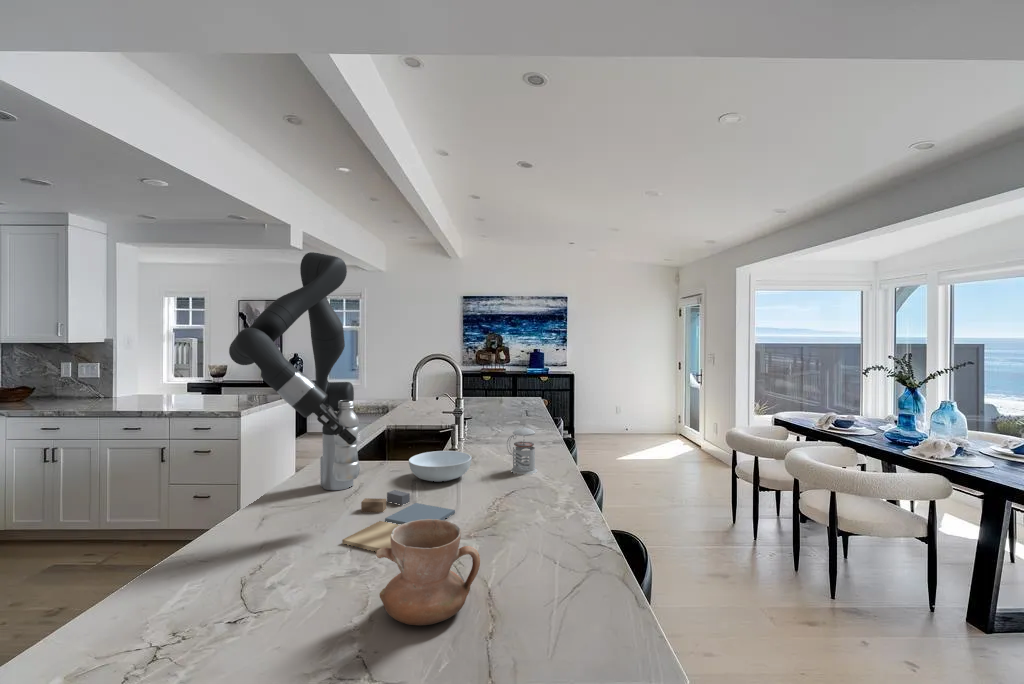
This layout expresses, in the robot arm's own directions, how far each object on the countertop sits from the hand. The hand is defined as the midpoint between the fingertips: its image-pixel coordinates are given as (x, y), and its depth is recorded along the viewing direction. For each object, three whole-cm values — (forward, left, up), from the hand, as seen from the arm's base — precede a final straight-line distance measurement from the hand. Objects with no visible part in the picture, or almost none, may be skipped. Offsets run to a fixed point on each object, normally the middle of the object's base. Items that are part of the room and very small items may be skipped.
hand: (353, 438), depth 127 cm
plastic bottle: (-1, -1, -11) cm, 11 cm away
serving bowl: (-4, +45, -22) cm, 50 cm away
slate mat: (+12, +12, -22) cm, 28 cm away
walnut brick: (-3, +11, -22) cm, 25 cm away
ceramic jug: (+40, -24, -22) cm, 52 cm away
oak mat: (+12, -3, -22) cm, 25 cm away
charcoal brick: (-1, +19, -22) cm, 29 cm away
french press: (+17, +65, -22) cm, 71 cm away
